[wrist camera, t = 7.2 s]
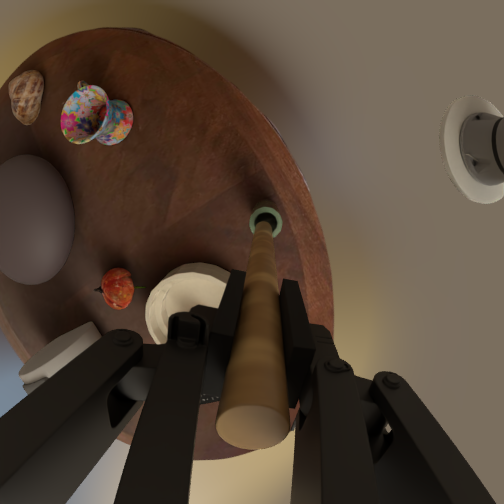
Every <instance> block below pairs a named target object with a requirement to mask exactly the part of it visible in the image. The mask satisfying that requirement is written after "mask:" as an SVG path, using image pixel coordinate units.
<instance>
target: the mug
mask: <svg viewBox="0 0 504 504" xmlns="http://www.w3.org/2000/svg"><path fill="white" fill-rule="evenodd" d="M81 84H82V85H83V86H84V87H82V86H81ZM77 87H78V90H76V91H75V92H74V93H73V94H72V95H71V96H70V97H69V99H68V100H67V102H66V103H65V105H64V108H63V111H62V114H61V129H62V132H63V134H64V136H65V137H66V138H67V139H68V140H69V141H70V142H72V143H75V144H83V143H86V142H89V141H91V140H92V139H94V138H96V139H97V140H98V141H99V142H100V143H102V144H104V145H114V144H117V143H119V142H120V141H122V140H123V139H124V138H125V137H126V136H127V135H128V133H129V132H130V130H131V127H132V124H133V113H132V110H131V108H130V106H129V105H128V104H127V103H126V102H124V101H122V100H111V101H110V100H109V99H108V96H107V94H106V93H105V91H104V90H103V89H102V88H100V87H98V86H95V85H88V84H87V83H86V82H85V81H79V82H78V84H77Z"/></svg>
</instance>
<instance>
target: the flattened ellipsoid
mask: <svg viewBox="0 0 504 504" xmlns="http://www.w3.org/2000/svg"><path fill="white" fill-rule="evenodd" d="M74 232H75V214H74V208H73V202H72V198H71V195H70V191H69V189H68V187H67V185H66V183H65V180H64V179H63V178H62V176H61V175H60V173H59V172H58V171H57V169H56V168H55V167H54V166H52V165H51V164H50V163H49V162H48V161H46V160H45V159H43V158H41V157H38V156H34V155H30V154H25V155H19V156H15V157H13V158H10V159H8V160H7V161H6V162H5V163H3V164H2V165H1V166H0V270H1V271H2V272H3V273H4V274H5V275H6V276H8V277H9V278H10V279H12V280H14V281H16V282H19V283H22V284H27V285H37V284H40V283H43V282H46V281H48V280H50V279H51V278H52V277H54V276H55V275H56V274H57V273H58V272H59V271H60V270H61V268H62V267H63V266H64V264H65V262H66V260H67V258H68V256H69V254H70V251H71V247H72V244H73V240H74Z"/></svg>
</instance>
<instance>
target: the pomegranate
mask: <svg viewBox="0 0 504 504" xmlns="http://www.w3.org/2000/svg"><path fill="white" fill-rule="evenodd" d="M134 288H146V287H143V286H142V287H139V286H136V287H134V286H133V282H132V279H131V274H130V272H129V271H127V270H125V269H123V268H119V267H118V268H113V269H111V270H109V271H108V272H107V273H106V274H105V275H104V276H103V278H102V281H101V286H100V287H99V288H97V289H94V291H98V292H100V293H102V294H103V296H104V299H105V301H106V303H107V304H108V305H109V306H111V307H112V308H114V309H118V310H120V309H123V308H125V307H127V306H128V305H129V304H130V302H131V301H132V296H133V293H134Z"/></svg>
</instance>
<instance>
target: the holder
mask: <svg viewBox="0 0 504 504" xmlns="http://www.w3.org/2000/svg"><path fill="white" fill-rule="evenodd" d="M262 221H264V222H268V223H269V224H270V225H271V227H272V235H273V237H275V236H276V235H277V234H278V233H279V232H280V231H281V227H282V219H281V216H280V213H279V211H278V208H277V206H276V205H275V204H274V203H273V202H272V201H269V200H262V201H260V202H258V203H257V204H256V205H255V207H254V209H253V211H252V214H251V217H250V222H249V226H250V228H251V231H252V233H253V234H254V232H255V227H256V225H257V224H258V223H259V222H262Z"/></svg>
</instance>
